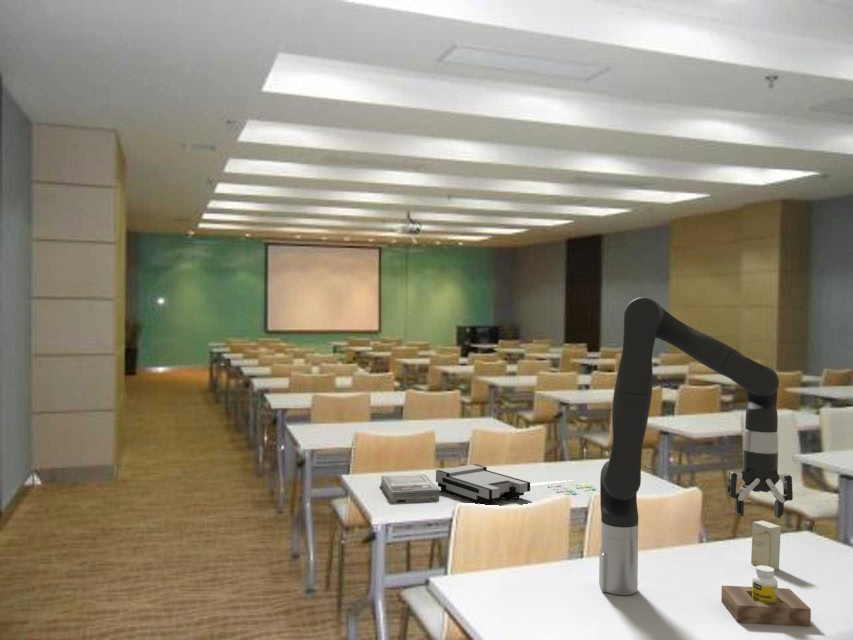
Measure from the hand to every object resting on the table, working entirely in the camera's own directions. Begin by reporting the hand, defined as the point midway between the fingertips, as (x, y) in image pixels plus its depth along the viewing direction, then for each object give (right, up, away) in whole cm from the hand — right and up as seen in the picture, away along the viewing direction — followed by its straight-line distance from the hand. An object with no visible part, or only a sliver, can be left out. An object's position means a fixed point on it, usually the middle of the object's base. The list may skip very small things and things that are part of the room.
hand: (759, 516), depth 171 cm
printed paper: (-19, -22, +115) cm, 119 cm away
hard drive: (-87, -21, +108) cm, 140 cm away
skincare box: (+16, -23, +30) cm, 40 cm away
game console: (-58, -21, +106) cm, 123 cm away
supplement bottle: (0, -22, -2) cm, 22 cm away
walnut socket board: (0, -23, -2) cm, 23 cm away
